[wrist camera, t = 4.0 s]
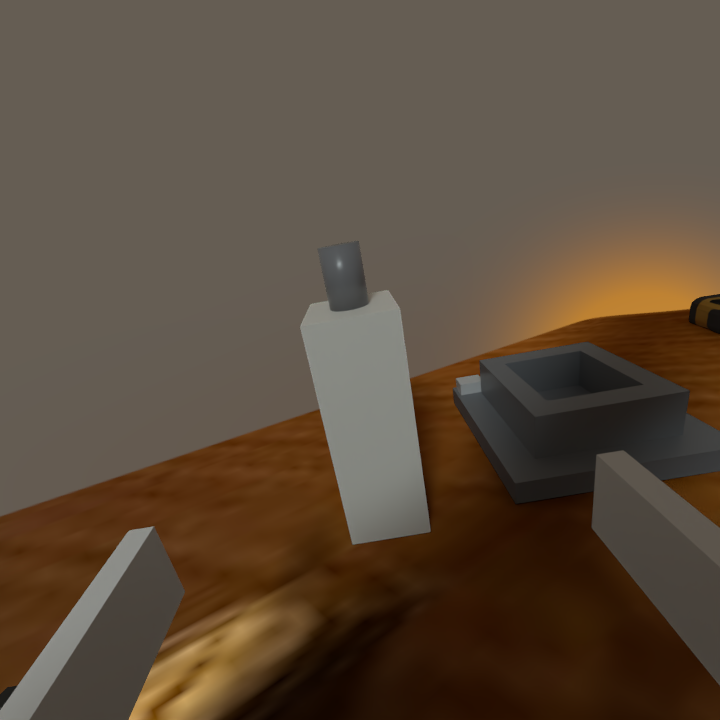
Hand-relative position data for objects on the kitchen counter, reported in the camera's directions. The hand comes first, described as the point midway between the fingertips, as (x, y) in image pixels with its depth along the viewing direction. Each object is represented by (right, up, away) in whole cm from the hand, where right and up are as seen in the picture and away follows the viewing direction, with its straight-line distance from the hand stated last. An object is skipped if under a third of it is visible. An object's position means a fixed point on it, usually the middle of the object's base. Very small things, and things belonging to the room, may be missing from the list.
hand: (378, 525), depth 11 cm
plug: (+1, -4, +12) cm, 13 cm away
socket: (+15, 0, +16) cm, 22 cm away
